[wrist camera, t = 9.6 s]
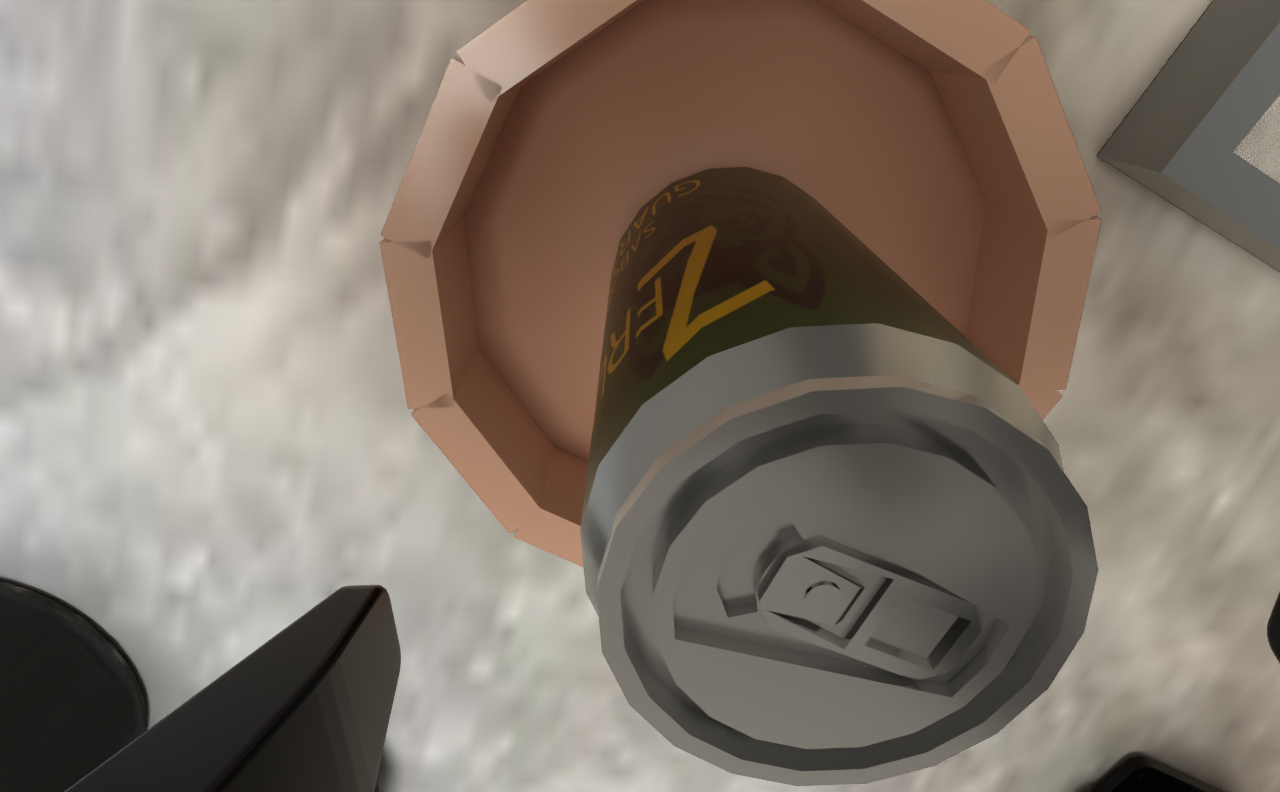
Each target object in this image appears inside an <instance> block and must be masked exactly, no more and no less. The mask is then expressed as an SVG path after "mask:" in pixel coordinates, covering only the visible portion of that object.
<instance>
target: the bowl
mask: <svg viewBox="0 0 1280 792" xmlns="http://www.w3.org/2000/svg"><path fill="white" fill-rule="evenodd" d="M1029 33H1030V30H1029V29H1027V28H1026V27H1024V26H1023V25H1021V24H1020V23H1018V22H1017V21H1015V20H1014V19H1012V18H1011V17H1009V16H1008V15H1006V14H1005V13H1003V12H1002V11H1000V10H999V9H997V8H996V7H994V6H993V5H991V4H990V3H988V2H987V1H985V0H527V1H525V2H524V3H522V4H521V5H520V6H518V7H517V8H516V9H514V10H513V11H511V12H510V13H509V14H507V15H506V16H504V17H503V18H502V19H500V20H499V21H498V22H496V23H495V24H493V25H492V26H491V27H489V28H488V29H486V30H485V31H484V32H482V33H481V34H480V35H478V36H477V37H475V38H474V39H473V40H471V41H470V42H468V43H467V44H466V45H464V46H463V47H462V48H460V49H459V50H457V51H456V52H457V53H458V55H459V56H460V57H454V58H451V60H450V62H449V65H448V67H447V70H446V72H445V75H444V77H443V80H442V82H441V85H440V87H439V90H438V92H437V95H436V97H435V100H434V102H433V105H432V107H431V110H430V112H429V115H428V117H427V120H426V122H425V125H424V127H423V130H422V132H421V135H420V137H419V140H418V142H417V145H416V147H415V150H414V152H413V155H412V157H411V160H410V162H409V165H408V167H407V170H406V172H405V175H404V177H403V180H402V182H401V185H400V187H399V190H398V192H397V195H396V197H395V200H394V202H393V205H392V207H391V210H390V212H389V215H388V217H387V220H386V222H385V225H384V227H383V230H382V232H381V236H383V237H385V239H384V240H382V241H381V242H380V247H381V253H382V259H383V265H384V270H385V276H386V282H387V288H388V294H389V300H390V305H391V311H392V317H393V323H394V329H395V334H396V340H397V346H398V352H399V358H400V363H401V369H402V375H403V381H404V387H405V393H406V398H407V404H408V409H414V410H413V412H412V414H411V415H412V416H413V418H414V419H415V420H416V421H417V422H418V424H419V425H420V426H421V427H422V428H423V430H424V431H425V432H426V433H427V434H428V436H429V437H430V438H431V439H432V441H433V442H434V443H435V444H436V445H437V447H438V448H439V449H440V450H441V451H442V453H443V454H444V455H445V456H446V458H447V459H448V460H449V461H450V462H451V464H452V465H453V466H454V467H455V468H456V470H457V471H458V472H459V473H460V474H461V476H462V477H463V478H464V479H465V481H466V482H467V483H468V484H469V485H470V487H471V488H472V489H473V490H474V491H475V493H476V494H477V495H478V496H479V497H480V499H481V500H482V501H483V502H484V504H485V505H486V506H487V507H488V508H489V510H490V511H491V512H492V513H493V514H494V516H495V517H496V518H497V519H498V520H499V522H500V523H501V524H502V525H503V527H504V528H505V529H506V530H507V531H508V533H511V532H513V531H515V530H516V531H515V535H514V537H515V538H517V539H520V540H522V541H524V542H527V543H529V544H531V545H534V546H536V547H538V548H541V549H543V550H545V551H548V552H550V553H552V554H555V555H557V556H559V557H561V558H564V559H566V560H568V561H571V562H573V563H575V564H578V565H580V566H582V567H584V565H583V555H582V545H581V535H580V527H581V519H582V511H583V503H584V494H585V486H586V478H587V470H588V462H589V453H590V445H591V437H592V429H593V421H594V412H595V404H596V396H597V388H598V380H599V371H600V363H601V355H602V347H603V339H604V330H605V322H606V314H607V306H608V298H609V289H610V281H611V274H612V270H613V266H614V262H615V259H616V255H617V251H618V247H619V243H620V239H621V238H622V236H623V235H624V233H625V232H626V230H627V229H628V227H629V225H630V224H631V222H632V221H633V219H634V218H635V216H636V215H637V213H638V211H639V210H640V208H641V207H642V206H644V205H645V204H646V203H647V202H649V201H650V200H651V199H652V198H653V197H655V196H656V195H657V194H658V193H660V192H661V191H662V190H663V189H664V188H666V187H667V186H668V185H669V184H671V183H673V182H675V181H678V180H680V179H683V178H685V177H688V176H690V175H693V174H696V173H698V172H701V171H703V170H706V169H712V168H731V167H750V168H753V169H757V170H761V171H764V172H768V173H771V174H775V175H778V176H782V177H784V178H786V179H787V180H789V181H790V182H792V183H793V184H795V185H796V186H797V187H799V188H800V189H802V190H803V191H805V192H806V193H807V194H809V195H810V196H812V197H813V198H814V199H816V200H817V201H818V202H819V203H820V204H821V205H822V206H823V207H824V208H825V209H827V210H828V211H829V212H830V213H831V214H832V215H833V216H834V217H835V218H836V219H837V220H839V221H840V222H841V223H842V224H843V225H844V226H845V227H846V228H847V229H848V230H849V231H851V232H852V233H853V234H854V235H855V236H856V237H857V238H858V239H859V240H860V241H861V242H863V243H864V244H865V245H866V246H867V247H868V248H869V249H870V250H871V251H872V252H873V253H875V254H876V255H877V256H878V257H879V258H880V259H881V260H882V261H883V262H884V263H885V264H887V265H888V266H889V267H890V268H891V269H892V270H893V271H894V272H895V273H896V274H897V275H899V276H900V277H901V278H902V279H903V280H904V281H905V282H906V283H907V284H908V285H909V286H911V287H912V288H913V289H914V290H915V291H916V292H917V293H918V294H919V295H920V296H921V297H923V298H924V299H925V300H926V301H927V302H928V303H929V304H930V305H931V306H932V307H933V308H935V309H936V310H937V311H938V312H939V313H940V314H941V315H942V316H943V317H944V318H945V319H947V320H948V321H949V322H950V323H951V324H952V325H953V326H954V327H955V328H956V329H957V330H959V331H960V332H961V333H962V334H963V335H964V336H965V337H966V338H967V339H968V340H969V341H971V342H972V343H973V344H974V345H975V346H976V347H977V348H978V349H979V350H980V351H981V352H983V353H984V354H985V355H986V356H987V357H988V358H989V359H990V360H991V361H992V362H993V363H995V364H996V365H997V366H998V367H999V368H1000V369H1001V370H1002V371H1003V372H1004V373H1005V374H1007V375H1008V376H1009V377H1010V378H1011V379H1012V380H1013V381H1014V382H1015V383H1016V384H1018V385H1019V386H1020V387H1021V389H1022V390H1023V392H1024V393H1025V395H1026V396H1027V398H1028V399H1029V401H1030V402H1031V404H1032V405H1033V407H1034V408H1035V410H1036V411H1037V413H1038V414H1039V416H1040V417H1041V419H1042V420H1043V419H1044V418H1045V416H1046V415H1047V414H1048V413H1049V412H1050V410H1051V409H1052V408H1053V407H1054V406H1055V404H1056V403H1057V402H1058V401H1059V400H1060V398H1061V397H1062V396H1063V395H1061V394H1060V393H1059V392H1058V391H1057V390H1066V387H1067V382H1068V377H1069V372H1070V368H1071V363H1072V358H1073V353H1074V349H1075V344H1076V339H1077V334H1078V330H1079V325H1080V320H1081V316H1082V311H1083V306H1084V301H1085V297H1086V292H1087V287H1088V282H1089V278H1090V273H1091V268H1092V263H1093V259H1094V254H1095V249H1096V244H1097V240H1098V235H1099V230H1100V225H1101V221H1102V219H1100V218H1098V217H1095V215H1097V214H1099V213H1100V212H1101V210H1100V207H1099V204H1098V202H1097V199H1096V196H1095V194H1094V191H1093V188H1092V186H1091V183H1090V180H1089V178H1088V175H1087V172H1086V170H1085V167H1084V164H1083V162H1082V159H1081V156H1080V154H1079V151H1078V148H1077V146H1076V143H1075V140H1074V138H1073V135H1072V132H1071V130H1070V127H1069V124H1068V122H1067V119H1066V116H1065V114H1064V111H1063V108H1062V106H1061V103H1060V100H1059V98H1058V95H1057V92H1056V90H1055V87H1054V84H1053V82H1052V79H1051V76H1050V74H1049V71H1048V68H1047V66H1046V63H1045V60H1044V58H1043V55H1042V52H1041V50H1040V47H1039V44H1038V42H1037V39H1036V37H1027V36H1028V34H1029Z"/></svg>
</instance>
